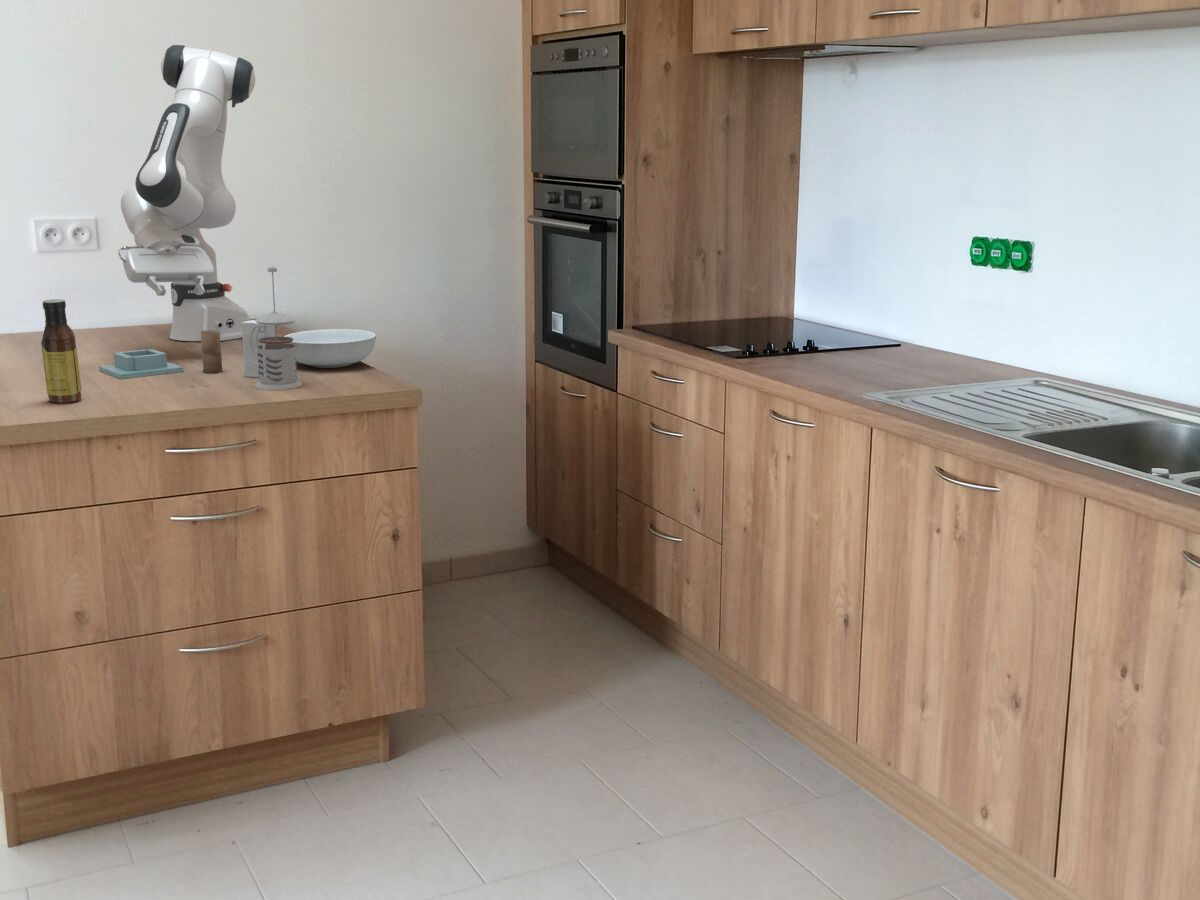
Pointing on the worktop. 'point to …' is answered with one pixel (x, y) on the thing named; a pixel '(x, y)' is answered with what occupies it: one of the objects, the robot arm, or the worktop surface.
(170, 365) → the holder
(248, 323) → the skincare box
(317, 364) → the serving bowl
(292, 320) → the french press
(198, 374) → the worktop surface
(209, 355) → the brown cylinder
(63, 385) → the sauce bottle
